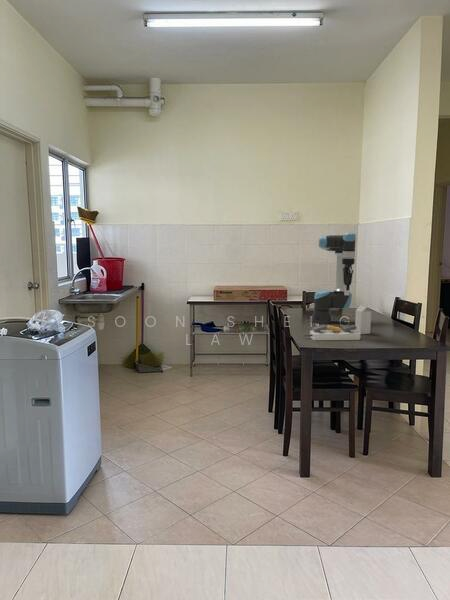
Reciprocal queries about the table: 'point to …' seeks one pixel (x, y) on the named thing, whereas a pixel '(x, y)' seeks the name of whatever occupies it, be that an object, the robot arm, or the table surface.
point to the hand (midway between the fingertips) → (346, 295)
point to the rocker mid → (334, 328)
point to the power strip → (334, 335)
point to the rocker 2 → (349, 328)
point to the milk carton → (363, 320)
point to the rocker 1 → (319, 328)
